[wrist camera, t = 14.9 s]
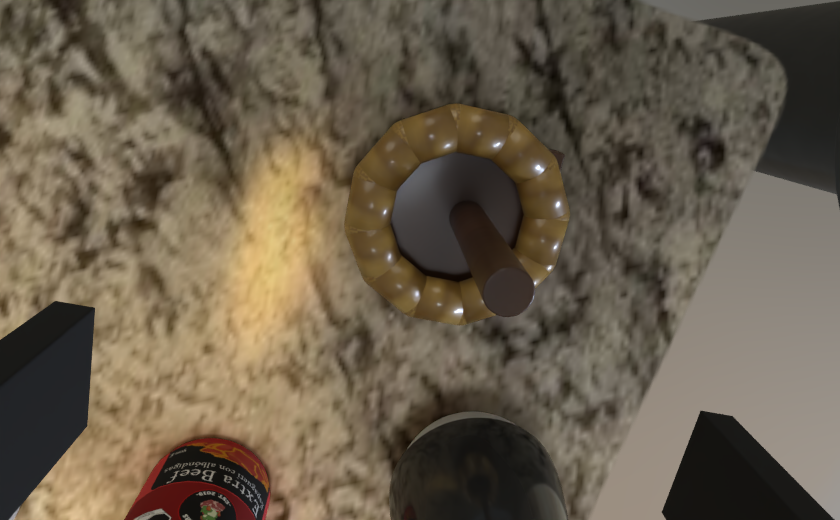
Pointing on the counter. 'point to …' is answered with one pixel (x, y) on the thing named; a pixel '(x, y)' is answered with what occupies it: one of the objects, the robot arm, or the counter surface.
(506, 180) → the post
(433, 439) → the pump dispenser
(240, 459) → the canned food
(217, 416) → the counter surface
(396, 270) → the ring
